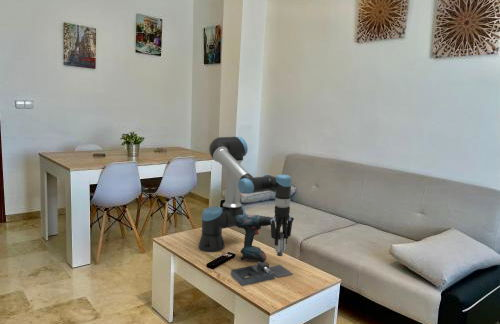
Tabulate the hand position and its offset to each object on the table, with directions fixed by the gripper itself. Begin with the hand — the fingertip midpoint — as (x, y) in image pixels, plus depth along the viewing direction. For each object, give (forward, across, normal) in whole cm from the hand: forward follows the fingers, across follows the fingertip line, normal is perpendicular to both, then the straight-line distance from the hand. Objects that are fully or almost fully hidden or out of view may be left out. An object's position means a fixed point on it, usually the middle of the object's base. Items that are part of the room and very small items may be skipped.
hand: (280, 250), depth 195 cm
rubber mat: (+11, 0, 0) cm, 11 cm away
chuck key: (+3, 0, 0) cm, 3 cm away
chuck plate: (+11, -16, 0) cm, 19 cm away
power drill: (+11, -4, +19) cm, 23 cm away
